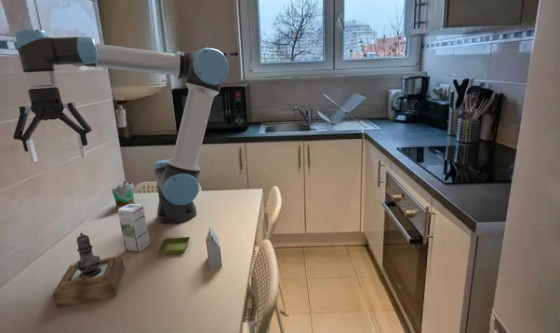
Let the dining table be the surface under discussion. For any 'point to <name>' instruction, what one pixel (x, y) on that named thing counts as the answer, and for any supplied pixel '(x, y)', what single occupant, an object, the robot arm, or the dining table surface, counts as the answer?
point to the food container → (124, 194)
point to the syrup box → (133, 227)
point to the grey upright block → (213, 250)
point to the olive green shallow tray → (173, 245)
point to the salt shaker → (87, 258)
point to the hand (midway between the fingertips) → (59, 159)
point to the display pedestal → (90, 283)
